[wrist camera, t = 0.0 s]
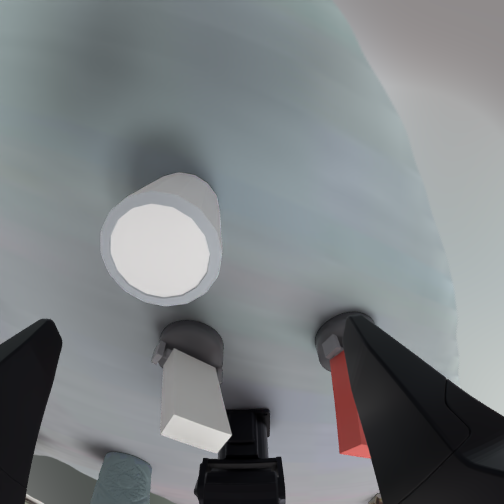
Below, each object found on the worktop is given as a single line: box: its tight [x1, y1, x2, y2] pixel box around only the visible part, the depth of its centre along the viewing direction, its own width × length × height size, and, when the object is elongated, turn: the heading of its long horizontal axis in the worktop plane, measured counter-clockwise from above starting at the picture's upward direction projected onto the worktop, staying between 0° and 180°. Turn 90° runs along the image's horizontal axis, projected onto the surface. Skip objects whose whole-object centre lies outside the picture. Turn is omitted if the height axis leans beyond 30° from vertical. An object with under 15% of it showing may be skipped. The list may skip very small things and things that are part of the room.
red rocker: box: [330, 346, 371, 458], centre depth 22 cm, size 2×5×10 cm, turn 55°
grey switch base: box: [151, 320, 224, 385], centre depth 26 cm, size 6×6×4 cm
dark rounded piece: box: [315, 312, 374, 372], centre depth 26 cm, size 6×6×4 cm
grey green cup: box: [90, 452, 152, 504], centre depth 37 cm, size 10×10×12 cm
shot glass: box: [100, 172, 223, 306], centre depth 19 cm, size 7×7×7 cm
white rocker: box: [160, 348, 232, 453], centre depth 21 cm, size 2×5×10 cm, turn 55°
